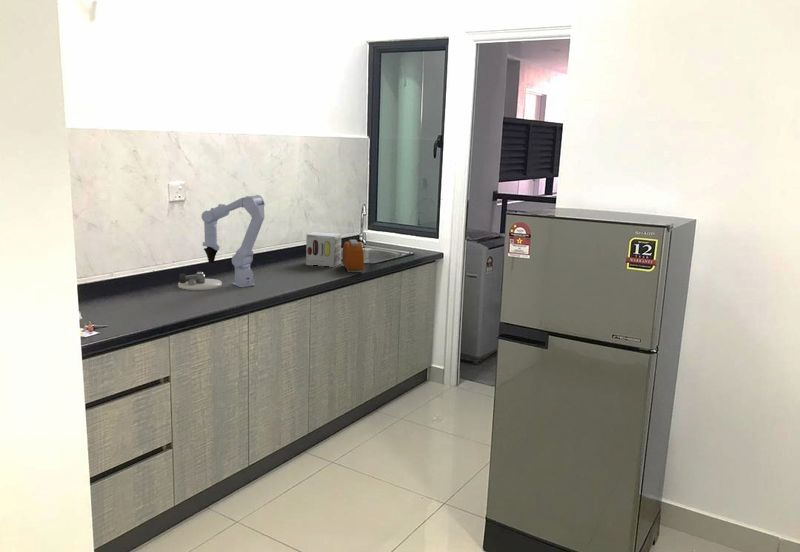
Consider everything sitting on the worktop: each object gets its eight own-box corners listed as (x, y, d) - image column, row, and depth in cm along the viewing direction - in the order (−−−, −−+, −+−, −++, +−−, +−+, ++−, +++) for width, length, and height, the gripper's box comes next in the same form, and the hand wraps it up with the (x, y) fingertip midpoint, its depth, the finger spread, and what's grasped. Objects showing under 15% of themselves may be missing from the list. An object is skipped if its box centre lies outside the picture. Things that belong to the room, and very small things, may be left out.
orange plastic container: (363, 273, 353) (364, 243, 350) (347, 273, 351) (348, 243, 348) (357, 265, 375) (358, 236, 372) (342, 265, 373) (342, 236, 370)
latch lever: (202, 280, 311) (202, 271, 311) (206, 282, 308) (206, 272, 307) (178, 283, 304) (177, 273, 303) (182, 285, 300) (181, 275, 300)
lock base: (229, 287, 308) (229, 279, 307) (188, 292, 295) (188, 283, 294) (211, 279, 323) (210, 272, 322) (171, 284, 310) (171, 276, 309)
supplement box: (305, 265, 370) (305, 234, 366) (313, 261, 382) (313, 231, 379) (334, 267, 366) (334, 236, 362) (341, 263, 379) (341, 233, 375)
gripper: (196, 233, 318) (197, 260, 321) (209, 237, 307) (210, 265, 310) (210, 232, 323) (210, 259, 325) (223, 236, 312) (223, 264, 314)
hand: (211, 262), depth 318 cm, fingers closed
